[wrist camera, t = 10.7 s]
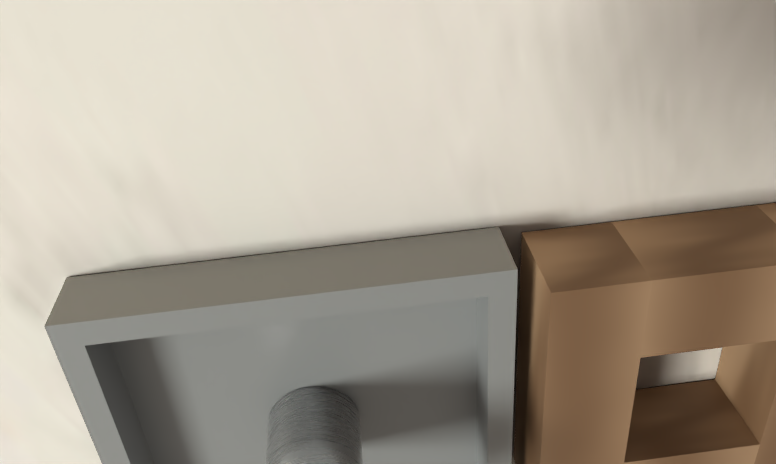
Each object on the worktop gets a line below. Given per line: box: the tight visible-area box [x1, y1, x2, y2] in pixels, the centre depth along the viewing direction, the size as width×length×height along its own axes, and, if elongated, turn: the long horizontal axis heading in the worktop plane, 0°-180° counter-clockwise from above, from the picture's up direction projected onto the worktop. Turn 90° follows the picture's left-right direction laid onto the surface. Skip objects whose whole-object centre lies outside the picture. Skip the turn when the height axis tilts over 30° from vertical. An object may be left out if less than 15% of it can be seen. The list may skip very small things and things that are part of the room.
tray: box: [45, 227, 518, 464], centre depth 24 cm, size 13×13×2 cm
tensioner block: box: [514, 203, 776, 464], centre depth 23 cm, size 10×10×3 cm
